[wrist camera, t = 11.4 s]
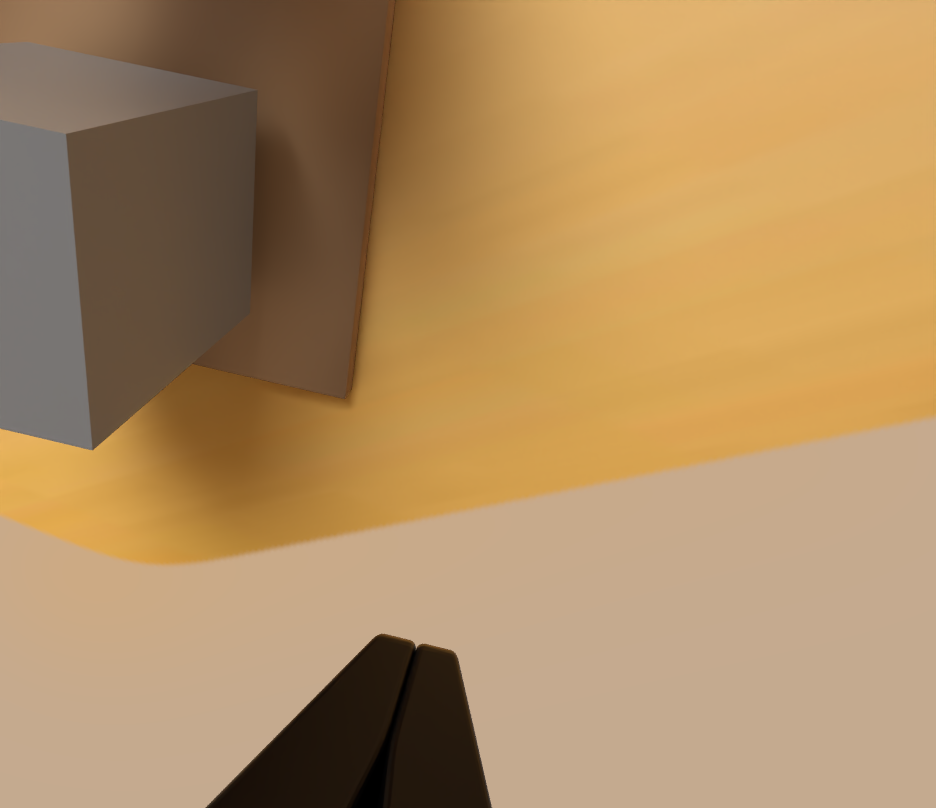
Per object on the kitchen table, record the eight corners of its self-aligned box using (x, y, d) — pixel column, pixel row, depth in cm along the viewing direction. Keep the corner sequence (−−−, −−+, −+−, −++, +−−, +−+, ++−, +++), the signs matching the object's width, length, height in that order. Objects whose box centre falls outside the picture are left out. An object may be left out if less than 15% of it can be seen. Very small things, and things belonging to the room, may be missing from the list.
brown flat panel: (396, -15, 16) (256, -33, 9) (351, 389, 21) (237, 565, 14) (-40, -103, 17) (-465, -180, 10) (13, 311, 21) (-249, 446, 15)
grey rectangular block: (257, 90, 16) (65, 133, 10) (249, 313, 18) (92, 449, 13) (27, 41, 16) (-286, 58, 10) (51, 268, 19) (-193, 383, 13)
